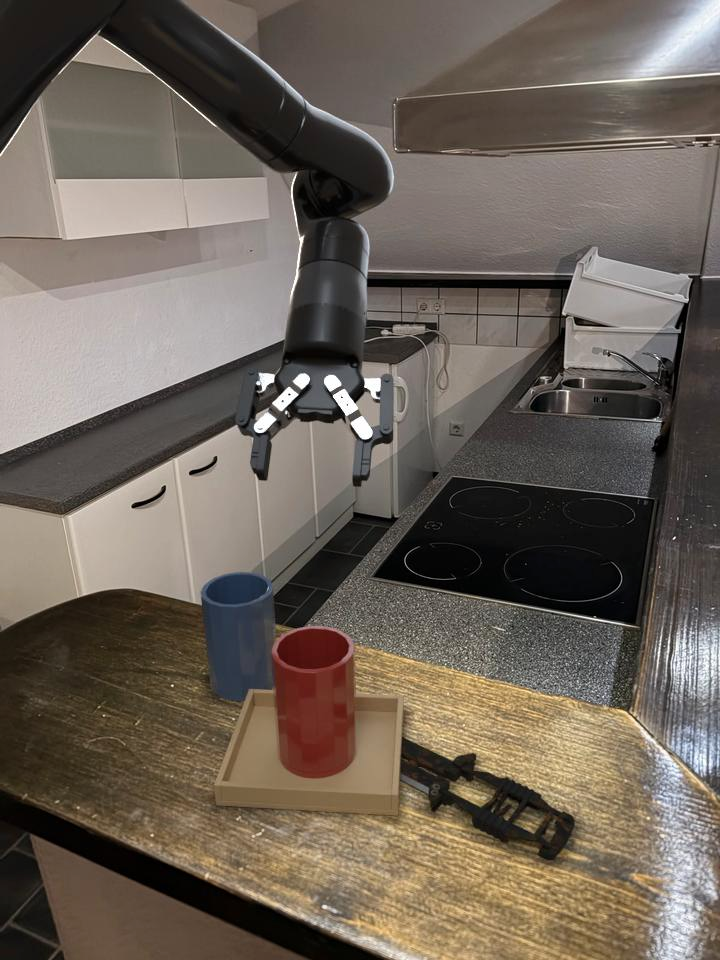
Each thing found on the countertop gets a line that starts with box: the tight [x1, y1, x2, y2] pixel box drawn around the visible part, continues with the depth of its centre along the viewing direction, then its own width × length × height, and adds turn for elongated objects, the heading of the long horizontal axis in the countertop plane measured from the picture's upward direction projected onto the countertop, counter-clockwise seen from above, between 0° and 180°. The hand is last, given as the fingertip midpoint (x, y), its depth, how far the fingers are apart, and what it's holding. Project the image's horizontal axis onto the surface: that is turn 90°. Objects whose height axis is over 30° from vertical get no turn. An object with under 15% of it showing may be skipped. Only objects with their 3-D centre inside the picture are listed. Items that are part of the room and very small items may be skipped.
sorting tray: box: [213, 689, 405, 817], centre depth 63 cm, size 14×12×2 cm
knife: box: [400, 736, 576, 861], centre depth 62 cm, size 25×6×1 cm, turn 48°
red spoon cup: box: [271, 625, 357, 778], centre depth 62 cm, size 6×6×10 cm
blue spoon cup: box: [200, 571, 277, 702], centre depth 72 cm, size 6×6×10 cm
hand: (309, 481), depth 67 cm, fingers open, 8 cm apart
